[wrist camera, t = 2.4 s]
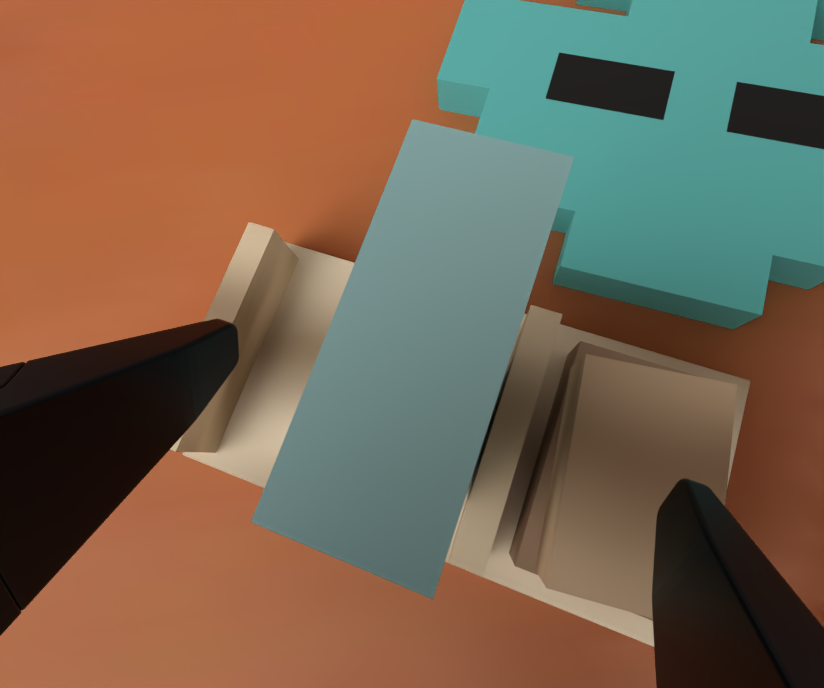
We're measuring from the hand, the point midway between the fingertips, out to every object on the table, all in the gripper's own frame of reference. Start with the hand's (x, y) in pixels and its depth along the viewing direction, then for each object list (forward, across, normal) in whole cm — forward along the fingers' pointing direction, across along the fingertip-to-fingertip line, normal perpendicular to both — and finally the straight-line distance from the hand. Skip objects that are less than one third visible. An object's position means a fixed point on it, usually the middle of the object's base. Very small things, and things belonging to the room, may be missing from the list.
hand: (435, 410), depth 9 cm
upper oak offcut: (+4, -5, +4) cm, 8 cm away
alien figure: (+19, -5, -5) cm, 20 cm away
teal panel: (+6, 0, +5) cm, 8 cm away
